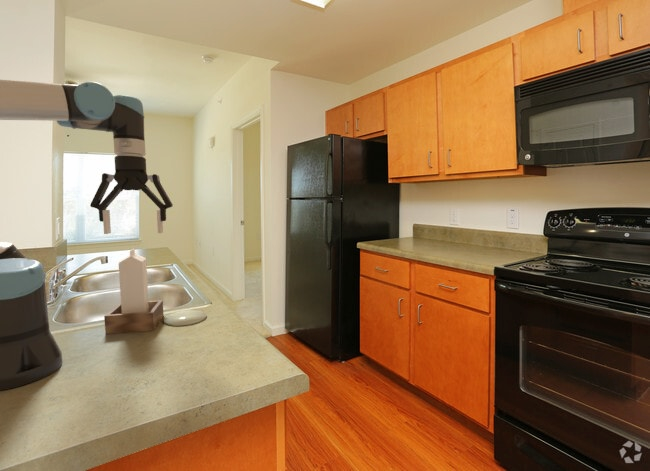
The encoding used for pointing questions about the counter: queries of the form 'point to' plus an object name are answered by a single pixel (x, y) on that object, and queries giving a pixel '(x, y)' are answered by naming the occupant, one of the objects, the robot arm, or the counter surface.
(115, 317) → the sleeve
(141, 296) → the milk
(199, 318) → the cream glossy dome
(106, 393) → the counter surface
